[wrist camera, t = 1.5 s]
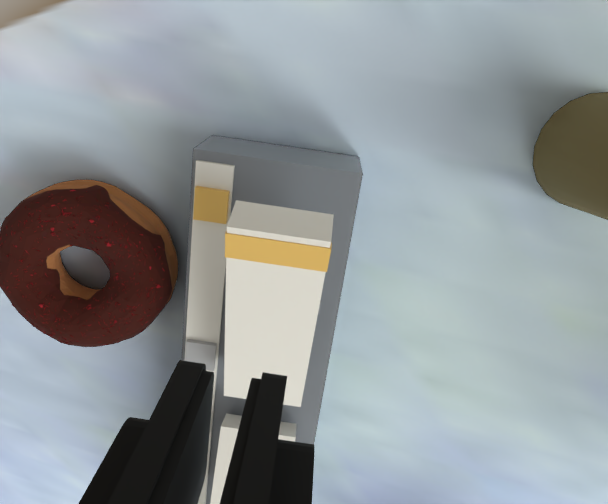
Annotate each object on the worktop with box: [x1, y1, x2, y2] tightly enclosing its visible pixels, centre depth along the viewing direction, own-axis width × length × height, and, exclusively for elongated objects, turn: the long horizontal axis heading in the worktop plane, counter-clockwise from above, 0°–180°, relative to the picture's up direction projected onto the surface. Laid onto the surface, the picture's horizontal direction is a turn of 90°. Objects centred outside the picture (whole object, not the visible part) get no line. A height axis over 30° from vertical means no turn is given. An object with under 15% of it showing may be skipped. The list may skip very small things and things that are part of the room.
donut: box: [0, 180, 178, 347], centre depth 29 cm, size 10×10×4 cm
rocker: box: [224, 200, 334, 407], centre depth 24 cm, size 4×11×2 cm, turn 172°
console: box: [182, 135, 363, 504], centre depth 30 cm, size 8×27×6 cm, turn 172°
